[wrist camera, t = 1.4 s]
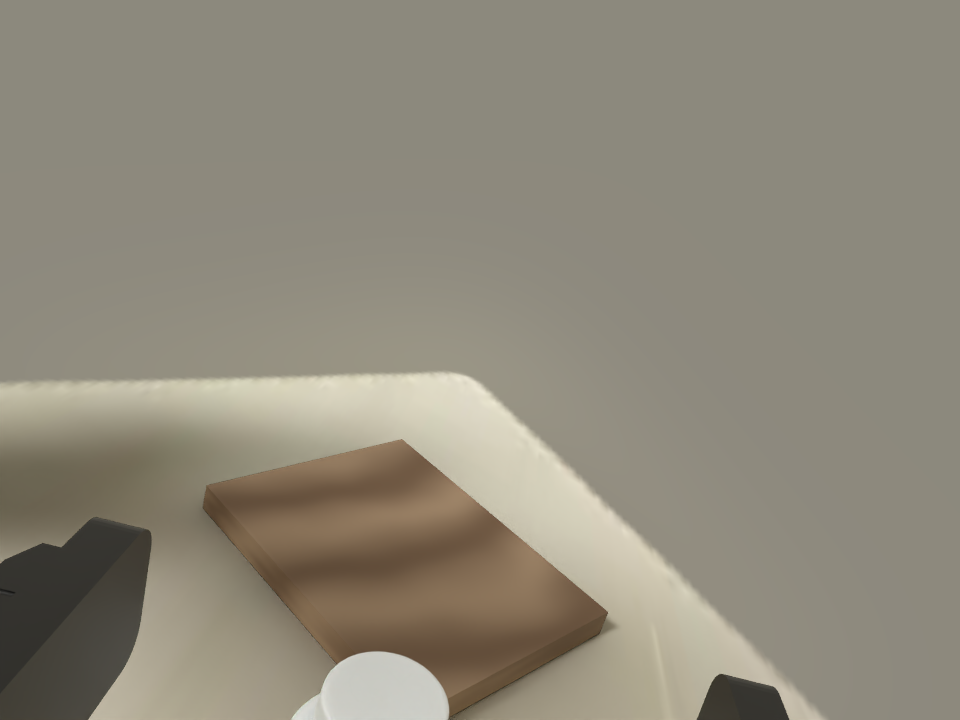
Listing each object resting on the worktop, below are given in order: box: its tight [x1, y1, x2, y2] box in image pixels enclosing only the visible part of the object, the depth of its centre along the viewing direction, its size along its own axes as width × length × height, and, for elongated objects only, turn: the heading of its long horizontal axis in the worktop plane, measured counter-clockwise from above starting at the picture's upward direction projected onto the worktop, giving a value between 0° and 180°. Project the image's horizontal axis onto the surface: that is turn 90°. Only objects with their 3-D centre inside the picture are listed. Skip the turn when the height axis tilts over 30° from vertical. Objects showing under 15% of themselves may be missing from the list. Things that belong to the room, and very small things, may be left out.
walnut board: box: [203, 439, 608, 717], centre depth 48 cm, size 18×14×2 cm
